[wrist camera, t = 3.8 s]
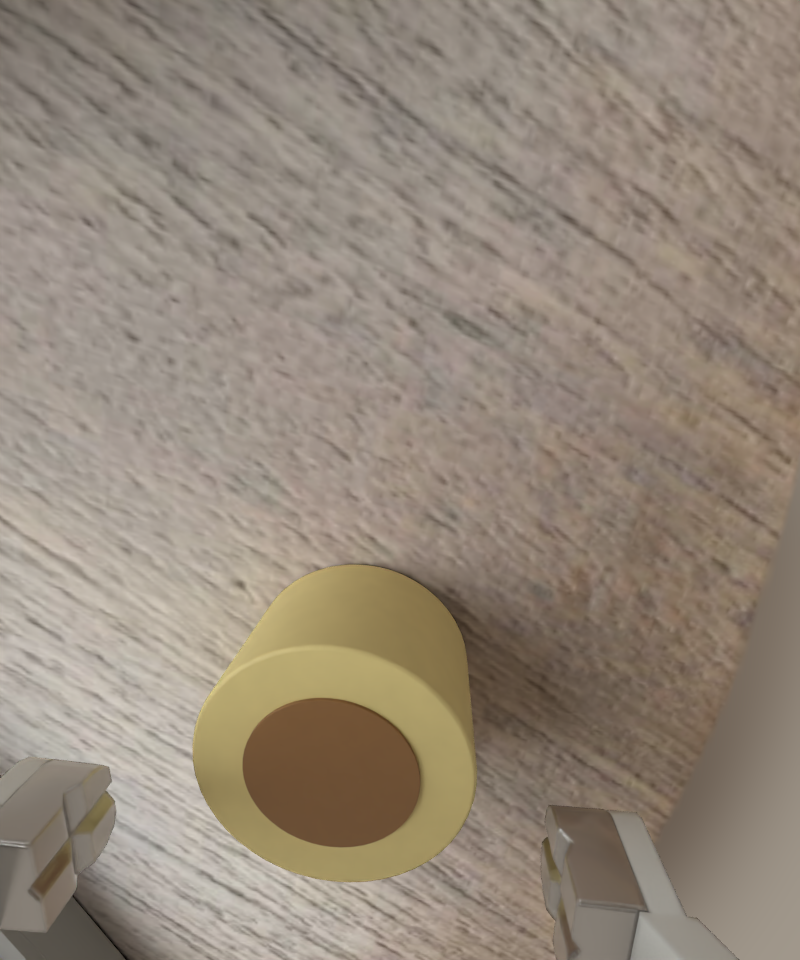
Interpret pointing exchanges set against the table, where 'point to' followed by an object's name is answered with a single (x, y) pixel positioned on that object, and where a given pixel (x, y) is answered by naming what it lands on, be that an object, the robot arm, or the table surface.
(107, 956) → the remote control
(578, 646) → the table surface
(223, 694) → the tape
